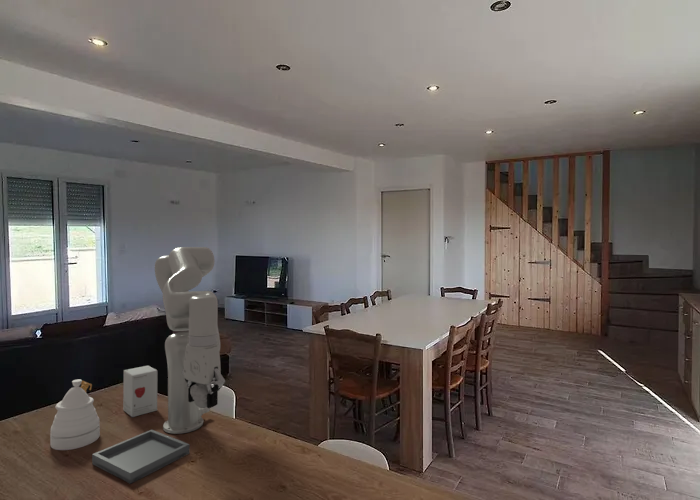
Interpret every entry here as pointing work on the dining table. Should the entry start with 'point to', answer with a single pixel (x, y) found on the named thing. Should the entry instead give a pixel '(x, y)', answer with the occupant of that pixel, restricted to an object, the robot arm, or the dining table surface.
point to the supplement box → (140, 390)
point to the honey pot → (74, 420)
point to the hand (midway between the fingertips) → (202, 402)
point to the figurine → (85, 385)
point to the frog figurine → (199, 394)
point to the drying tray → (140, 455)
